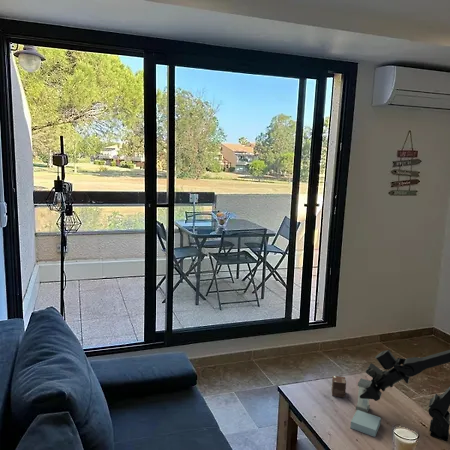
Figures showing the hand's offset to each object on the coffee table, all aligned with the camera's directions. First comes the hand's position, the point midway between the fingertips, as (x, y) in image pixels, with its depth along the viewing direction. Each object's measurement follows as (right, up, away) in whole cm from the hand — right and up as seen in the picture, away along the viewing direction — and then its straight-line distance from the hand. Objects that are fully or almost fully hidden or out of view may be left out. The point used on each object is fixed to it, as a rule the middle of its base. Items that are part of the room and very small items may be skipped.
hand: (362, 392), depth 184 cm
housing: (0, -8, +1) cm, 8 cm away
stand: (-3, -10, -11) cm, 15 cm away
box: (-8, -6, +13) cm, 16 cm away
